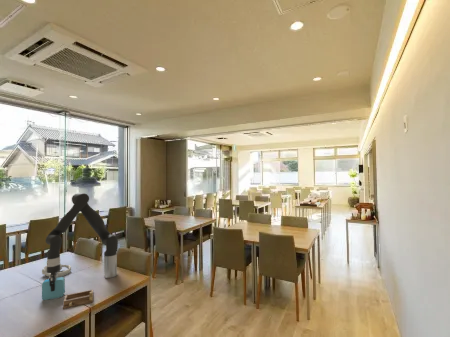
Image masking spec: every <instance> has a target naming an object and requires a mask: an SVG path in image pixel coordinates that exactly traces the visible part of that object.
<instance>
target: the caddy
mask: <svg viewBox="0 0 450 337" xmlns="http://www.w3.org/2000/svg"><path fill="white" fill-rule="evenodd" d="M93 299H94V289H87V290H83V291H79V292H73V293H69V294H65V295H64V299H63V306H62V310H64V309H70V308H75V307H78V306H83V305H89V304H92V303H93V301H94V300H93Z"/></svg>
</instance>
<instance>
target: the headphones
mask: <svg viewBox="0 0 450 337" xmlns="http://www.w3.org/2000/svg"><path fill="white" fill-rule="evenodd" d="M63 268H67V269H65V270H64V271H61V270H62V269H63ZM71 272H72V266H71V265H70V264H68V265H67V264H62V263H60V270H59V271H58V275H57V278H60V277H65V276H67V275H68V274H70V273H71ZM41 274H42V275H44V276H45V277H50V274H51V273H47V265H45V266H44V267H43V269H42V270H41Z"/></svg>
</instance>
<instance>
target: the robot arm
mask: <svg viewBox="0 0 450 337" xmlns="http://www.w3.org/2000/svg"><path fill="white" fill-rule="evenodd" d="M89 201H90V196H89V195H88V193H82V192H79V193H78V192H77V193H75V194H73V195H72V197H71V202H72V204H73V205H72V207H71V208H70V210H68V211H67V212H66V213H65V214H64V215H63V217H62V218H61V219H60V220H59V221H58V223H57V224H56V226H55V227H54V228H53V229H52V230H51V231H50V232H49V234H48V235H47V236H46V238H45V243H46V245H49V249H48V250H47V253H46V259H47V260H46V266H47V273H51V274H50V277H49V276H48V277H49V278H48V279H49V283H50V286H51V292H52V291H55V281H56V278H57V275H58V273H59V272H60V271H61V270H60V264H61V252H60V251H61V248H62V244H63V241H62V240H63V239H62V234H64V233H66V231H67V230H68V229H69V228H70V226H71V224H72V222H73V221H74V220H75V218H76V217H77V216H78V215H79V213H81V214H82V216H83V217H84V218H85V220H86V221H87V222H88V224H89V226H90V227H91V228H92V229H93V230H94V232H95V233H97V234H96V235H98V237H99V239H100V240H101V243H103V245H104V246H106V247H105V251H104V253H103V278H106V279H112V278H115V277H117V276H118V273H117V272H118V270H117V268H118V264H117V261H118V260H117V257H118V256H117V254H118V253H117V252H118V248H119V239H118V236H116V235H114V234H112V233H110V231H108V229H107V227H106V225H105V221H104V219H103V217H101V215H100V213H98V212H97V210H95V209H94V208H92V207H91V206H90V205H89ZM59 270H60V271H59ZM58 271H59V272H58ZM52 283H53V284H52Z"/></svg>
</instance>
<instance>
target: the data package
mask: <svg viewBox="0 0 450 337" xmlns="http://www.w3.org/2000/svg"><path fill="white" fill-rule="evenodd" d="M65 279H66V278H65V276H62V277H58V278H56V281H55V291H52V292H51V286H50V283H49V278H48V279H45V280H44V281H43V282H42V284H41V300H43V301H47V300H48V301H49V300H52V299H53V300H54V299H58V298H59V299H60V298H62V297H63V296H65V295H64V294H65V292H66V290H65V288H66V284H65V283H66V282H65V281H66V280H65ZM52 284H53V283H52Z"/></svg>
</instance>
